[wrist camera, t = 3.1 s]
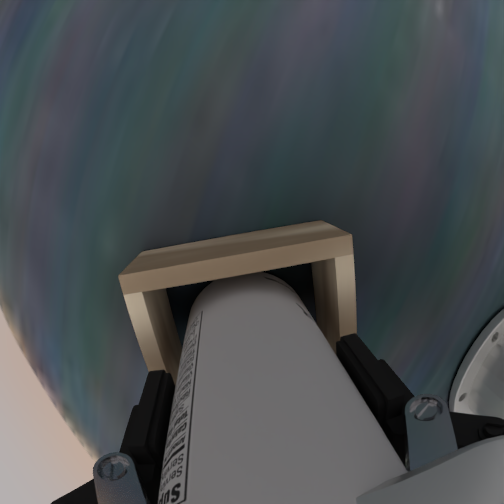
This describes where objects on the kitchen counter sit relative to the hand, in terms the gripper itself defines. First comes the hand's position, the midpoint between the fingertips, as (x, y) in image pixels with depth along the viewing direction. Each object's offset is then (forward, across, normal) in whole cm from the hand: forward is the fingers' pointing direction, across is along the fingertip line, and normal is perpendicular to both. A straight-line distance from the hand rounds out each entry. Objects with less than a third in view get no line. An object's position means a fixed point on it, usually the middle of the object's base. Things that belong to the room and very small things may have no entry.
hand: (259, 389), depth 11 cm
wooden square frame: (+6, 0, 0) cm, 6 cm away
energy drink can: (+6, 0, 0) cm, 6 cm away
